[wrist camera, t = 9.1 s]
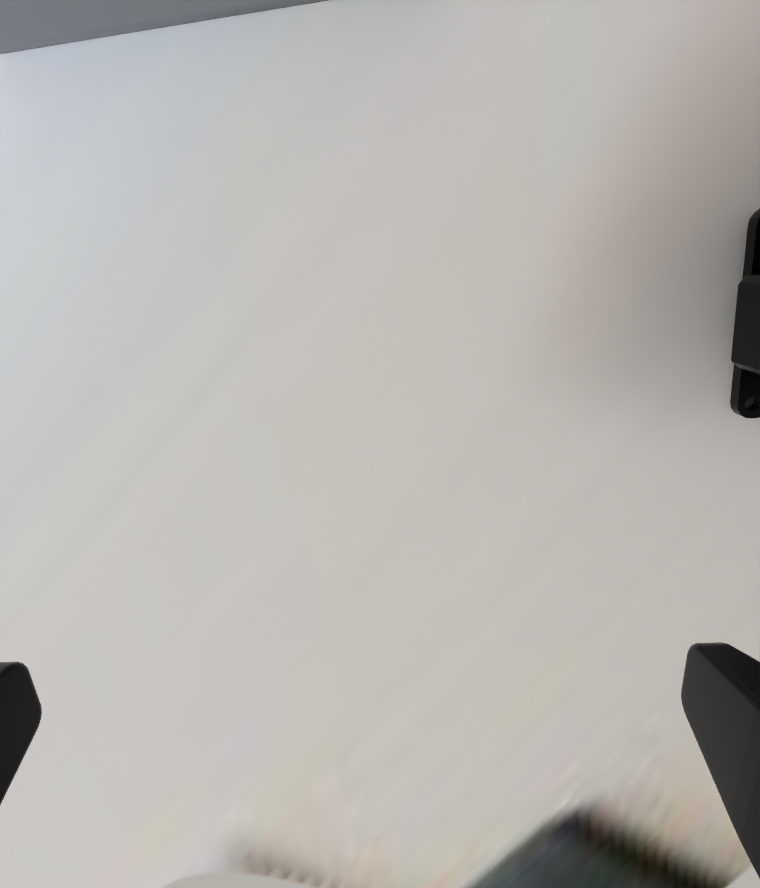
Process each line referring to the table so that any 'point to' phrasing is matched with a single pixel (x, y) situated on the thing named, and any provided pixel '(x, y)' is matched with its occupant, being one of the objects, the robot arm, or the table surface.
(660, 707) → the table surface
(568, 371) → the table surface
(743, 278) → the robot arm
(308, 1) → the tray
